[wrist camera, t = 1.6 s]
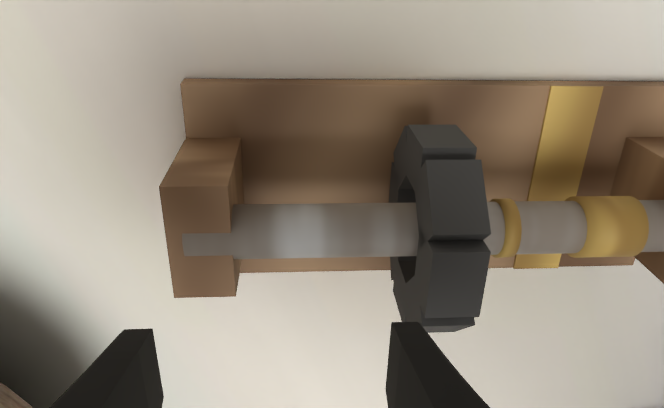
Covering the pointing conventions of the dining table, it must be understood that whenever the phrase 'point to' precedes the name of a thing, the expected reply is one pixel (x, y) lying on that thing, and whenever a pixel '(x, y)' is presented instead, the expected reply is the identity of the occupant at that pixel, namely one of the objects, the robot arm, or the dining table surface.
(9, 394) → the cooking pot
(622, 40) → the dining table surface
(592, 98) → the pipe stand
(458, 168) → the dark grey hex nut
